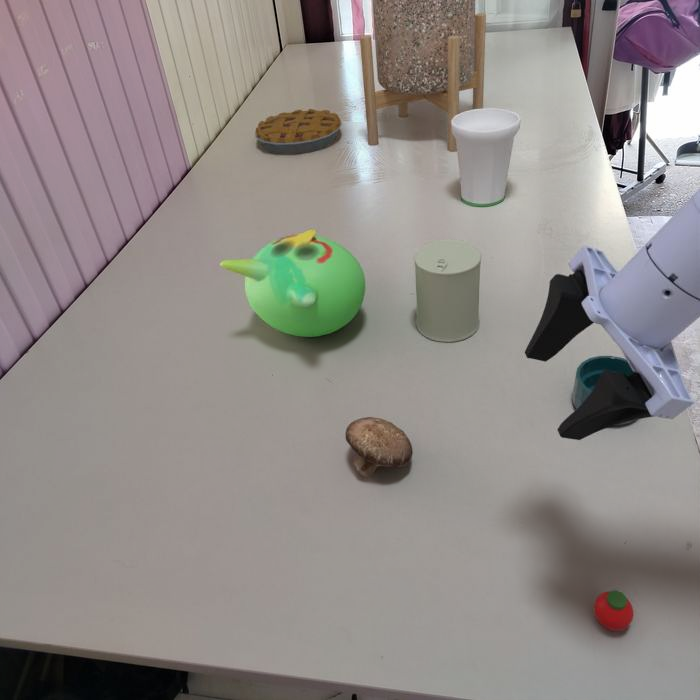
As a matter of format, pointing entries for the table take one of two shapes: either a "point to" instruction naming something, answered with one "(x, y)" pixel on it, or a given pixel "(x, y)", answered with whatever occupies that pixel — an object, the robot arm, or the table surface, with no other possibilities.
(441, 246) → the can
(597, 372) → the bowl
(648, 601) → the table surface
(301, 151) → the pie
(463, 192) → the cup
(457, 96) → the planter
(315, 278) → the toy bird
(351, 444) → the mushroom
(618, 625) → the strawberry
